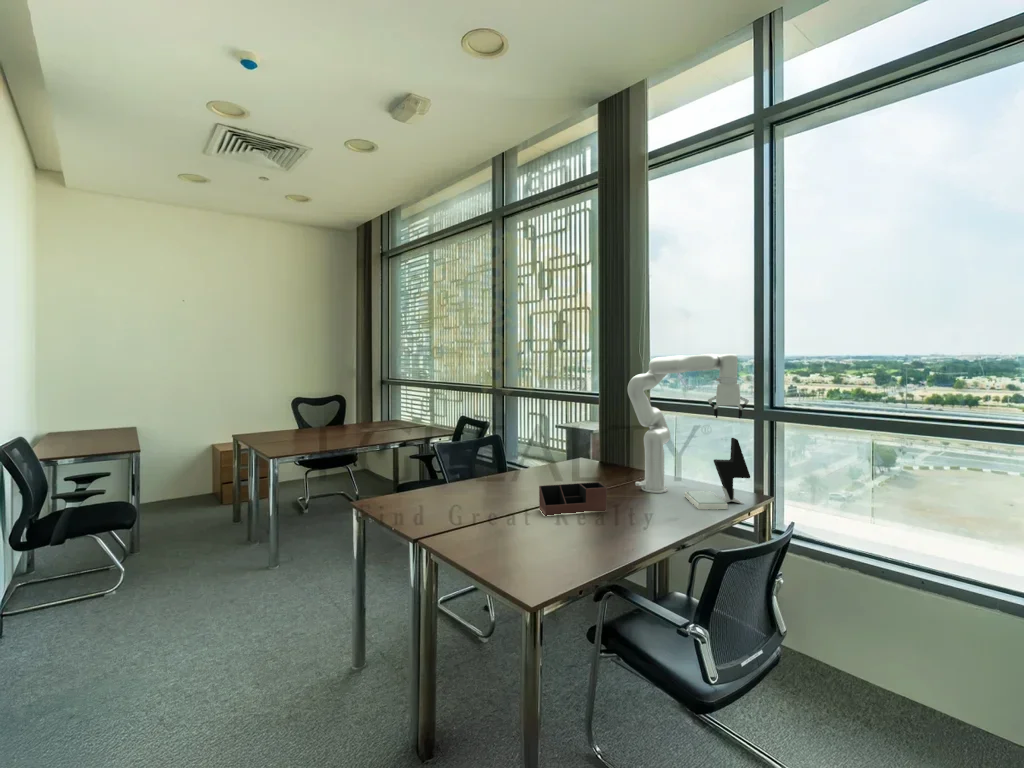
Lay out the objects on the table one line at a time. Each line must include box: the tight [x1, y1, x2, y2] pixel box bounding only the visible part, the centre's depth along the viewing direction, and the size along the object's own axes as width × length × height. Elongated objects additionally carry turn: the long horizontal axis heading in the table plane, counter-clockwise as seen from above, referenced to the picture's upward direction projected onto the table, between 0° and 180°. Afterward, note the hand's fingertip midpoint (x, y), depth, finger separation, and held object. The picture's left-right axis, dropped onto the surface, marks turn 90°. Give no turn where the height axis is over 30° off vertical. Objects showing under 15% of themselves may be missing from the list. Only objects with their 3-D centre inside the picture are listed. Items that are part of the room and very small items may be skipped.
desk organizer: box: [538, 481, 608, 516], centre depth 217 cm, size 10×29×11 cm, turn 101°
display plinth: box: [684, 490, 729, 511], centre depth 226 cm, size 13×19×3 cm
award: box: [713, 437, 751, 505], centre depth 226 cm, size 15×5×30 cm, turn 85°
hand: (727, 417), depth 226 cm, fingers open, 9 cm apart
